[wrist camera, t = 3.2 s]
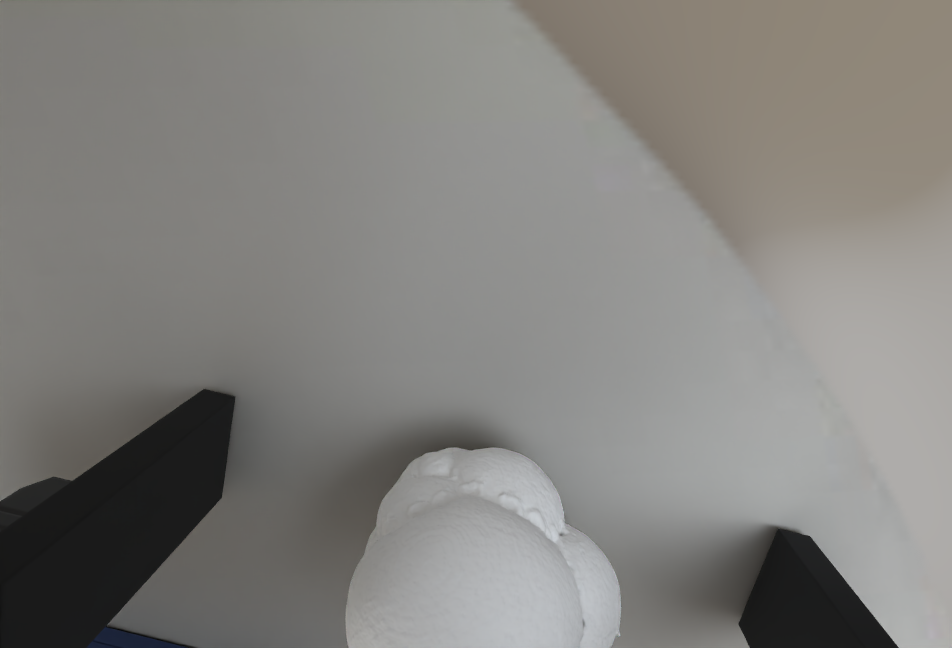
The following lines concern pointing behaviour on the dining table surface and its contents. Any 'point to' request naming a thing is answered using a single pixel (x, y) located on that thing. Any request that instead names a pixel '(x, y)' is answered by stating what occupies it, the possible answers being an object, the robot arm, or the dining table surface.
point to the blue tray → (127, 640)
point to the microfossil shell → (479, 562)
